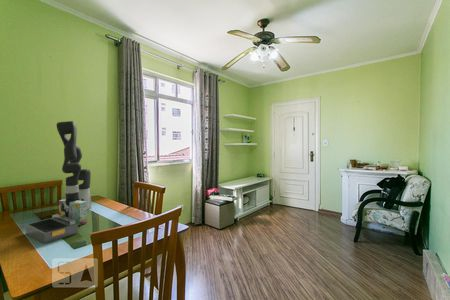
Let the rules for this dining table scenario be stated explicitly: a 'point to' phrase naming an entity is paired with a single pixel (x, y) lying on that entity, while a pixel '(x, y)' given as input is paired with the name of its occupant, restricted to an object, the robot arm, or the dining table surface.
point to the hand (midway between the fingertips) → (72, 215)
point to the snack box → (75, 211)
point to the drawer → (52, 228)
